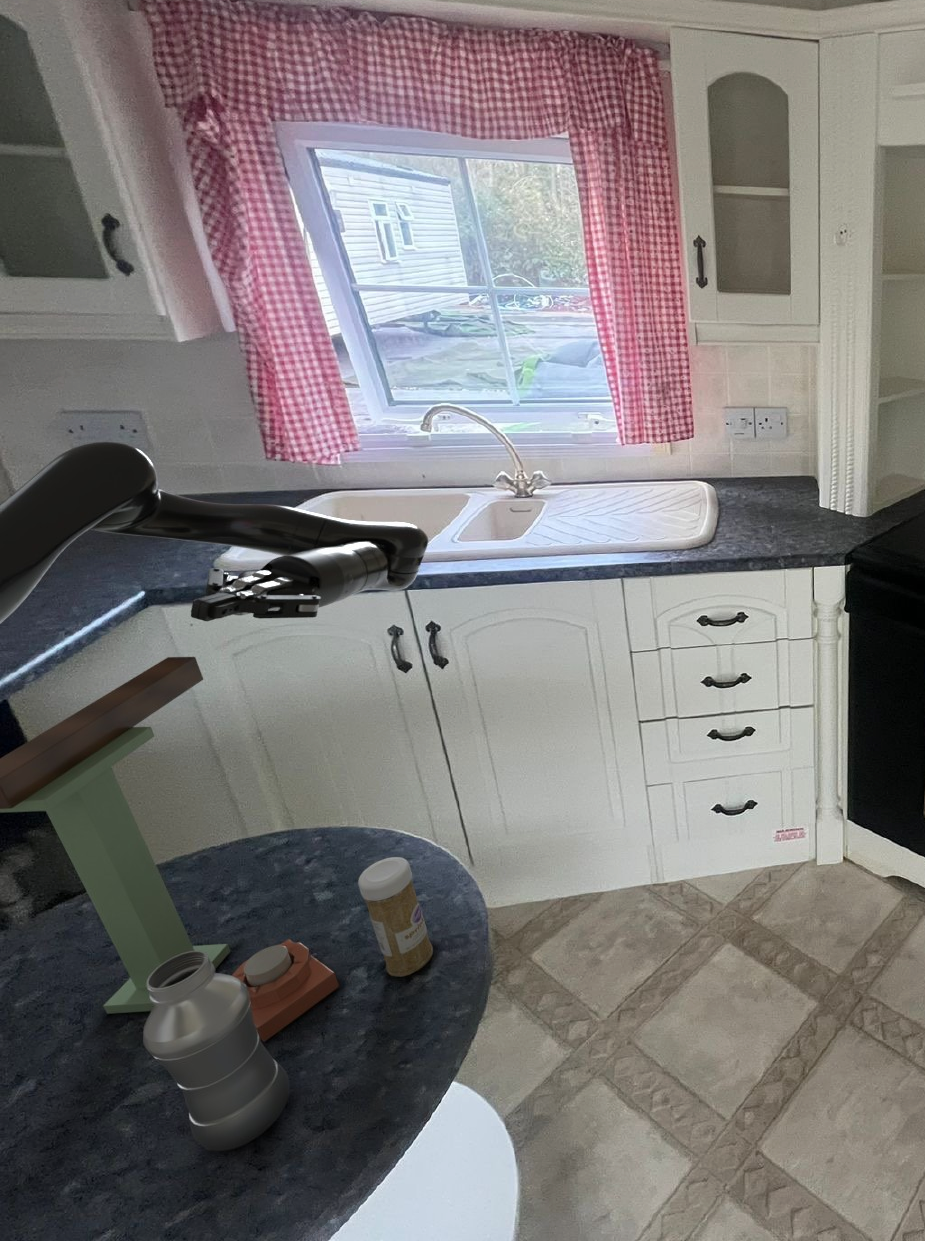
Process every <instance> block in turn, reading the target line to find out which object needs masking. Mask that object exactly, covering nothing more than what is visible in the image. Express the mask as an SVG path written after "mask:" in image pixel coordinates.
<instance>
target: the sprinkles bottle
mask: <svg viewBox="0 0 925 1241" xmlns="http://www.w3.org/2000/svg"><path fill="white" fill-rule="evenodd" d="M412 878H413V873H412V869H411V866H410V862H409V861H408V860H407V859H406V858H404V857H400V856H391V857H386V858H383V859H381V860H377V861H376V862H374V863H372V864H371V865H369V866H368V867H367V868H365V869H364V870H363V872H362V873H361V874H360V876H359V877H358V879H357V880H358V881H357V884H358V889H359V892H360V895H361V897H362V898H363V900H364V901H365V904H366V907H367V910H368V913H369V919H370V922H371V925H372V928H373V930H374V934H375V937H376V939H377V940H376V941H377V943H378V946H379V949H380V952H381V953H382V955H383V958H384V962H385V966H386V967H385V968H386V972H387V973H388V975H390V976H392V977H398V978H399V977H401V978H402V977H406V976H410V975H411V974H414V973H415V972H418V971H420V970H421V969H422V968H424V966H425V965H426V964H427V963H428V962H429V961H430V960H431V958H432V957H433V954H434V948H433V945H432V943H431V941H430V937H429V935H428V931H427V930H428V929H427V925H426V921H425V918H424V915H423V911H422V909H421V906H420V903H419V899H418V896H417V893H416V890H415V887H414V884H413V880H412Z"/></svg>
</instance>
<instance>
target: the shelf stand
mask: <svg viewBox="0 0 925 1241" xmlns="http://www.w3.org/2000/svg"><path fill="white" fill-rule="evenodd" d="M155 736H156V735H155V733H154V730H153V729H152V727H151V726H134V727H132V728H131V729H129V730H128V731H126V732H125V733H123V734H122V735H120V736H119V737H117V738H116V739H114V740H113V741H111V742H110V743H108V744H107V745H105V746H104V747H102V748H101V749H99V750H98V751H96V752H95V753H94V754H92V755H91V756H89V757H88V758H86V759H85V760H83V761H82V762H80V763H79V764H77V765H76V766H74V767H73V768H71V769H70V770H68V771H67V772H65V773H64V774H62V775H61V776H59V777H58V778H56V779H55V780H53V781H52V782H50V783H49V784H47V785H46V786H45V787H43V788H42V789H40V790H39V791H37V792H36V793H34V794H33V795H31V796H30V797H28V798H27V799H25V800H24V801H22V802H21V803H19V804H18V805H16V806H15V807H13V808H11V809H0V813H22V812H23V813H24V812H46V814H47V816H48V818H49V820H50V822H51V824H52V826H53V829H54V830H55V833H56V834H57V836H58V838H59V840H60V842H61V844H62V846H63V847H64V849H65V852H66V853H67V855H68V857H69V859H70V861H71V863H72V865H73V868H74V869H75V872H76V873H77V875H78V878H79V879H80V881H81V883H82V885H83V887H84V889H85V891H86V893H87V895H88V897H89V899H90V901H91V903H92V904H93V906H94V909H95V911H96V912H97V915H98V916H99V918H100V920H101V922H102V925H103V926H104V928H105V930H106V932H107V935H108V936H109V938H110V940H111V942H112V945H113V946H114V948H115V950H116V952H117V954H118V957H119V958H120V960H121V962H122V964H123V966H124V967H125V970H126V971H127V974H128V976H129V979H128V980H127V981H126V982H125V983H124V984H123V985H122V986H121V987H120V988H119V989H118V990H117V991H116V992H115V993H114V994H113V995H112V996H111V997H110V998H109V999H108V1000H107V1001H106V1002H105V1003H104V1004H103V1005H102V1007H103V1009H104V1011H105V1012H106V1014H108V1015H110V1014H124V1013H125V1014H126V1013H127V1014H128V1013H141V1012H151V1011H152V1009H153V1008H154V1006H155V1005H153V1004H152V1002H151V1000H150V993H149V991H148V989H147V979H148V977H149V976H150V974H151V973H152V972H153V971H154V970H155V969H156V968H157V967H159V966H160V965H161V964H163V963H164V962H166V961H167V960H169V959H171V958H173V957H175V956H177V955H180V954H182V953H185V952H189V951H196V950H198V951H204V952H205V953H206V954H207V955H208V957H209V960H210V962H211V963H213V965H214V967H215V970H216V969H217V968H218V967H219V965H221V963H222V962H223V961H224V959H225V958H226V957H227V956H228V955H229V954H230V953H231V949H230V946H229V944H228V943H223V944H222V943H220V944H219V943H218V944H203V945H193V944H192V942H191V939H190V937H189V935H188V933H187V930H186V929H185V926H184V924H183V922H182V919H181V917H180V915H179V913H178V911H177V909H176V906H175V904H174V902H173V900H172V898H171V895H170V893H169V891H168V889H167V887H166V884H165V883H164V880H163V877H162V876H161V873H160V871H159V869H158V867H157V865H156V862H155V861H154V858H153V856H152V853H151V852H150V849H149V847H148V845H147V842H146V841H145V838H144V835H143V834H142V832H141V829H140V827H139V826H138V822H137V821H136V818H135V816H134V813H133V812H132V809H131V807H130V805H129V803H128V801H127V798H126V796H125V794H124V792H123V790H122V788H121V785H120V783H119V781H118V779H117V776H116V774H115V772H114V770H113V767H114V766H115V765H116V764H118V763H119V762H121V761H122V760H123V759H124V758H126V757H127V756H129V755H130V754H133V752H134V751H135V750H137V749H139V748H140V747H141V746H143V745H145V744H146V743H147V742H149V741H150V740H152V739H153V738H154V737H155Z"/></svg>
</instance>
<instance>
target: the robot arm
mask: <svg viewBox="0 0 925 1241" xmlns="http://www.w3.org/2000/svg"><path fill="white" fill-rule="evenodd" d="M158 477H159V476H158V473H157V470H156V468H155V465H154V463H153V462H152V460H151V459H150V457H148V455H146V453H144V452H143V451H142V450H141V449H138V448H137V447H135V446H132V445H129V444H125V443H122V442H114V441H99V442H98V441H97V442H90V443H84V444H81V445H78V446H75V447H73V448H71V449H69V450H67V451H64V452H62V453H61V454H59V455H57V457H55V458H54V459H52V461H50V462H49V463H48V464H47V465H45V466H44V467H43V468H42V469H40V470H39V471H38V472H37V473H36V474H35V475H33V477H32V478H30V479H29V480H28V481H27V482H25V484H23V485H22V486H21V487H20V488H18V489H17V490H16V491H15V492H13V493H12V494H11V495H10V496H9V497H8V498H6V499H5V500H3V501H2V502H1V503H0V625H1V624H2V623H3V622H4V621H5V620H6V619H7V618H9V617H10V616H11V615H12V614H14V612H15V611H16V610H17V609H18V608H19V607H20V606H21V604H22V603H24V601H25V600H26V599H27V598H28V596H29V595H30V594H31V593H32V592H33V590H34V589H35V588H36V586H37V585H38V584H39V583H40V581H41V580H42V578H43V577H44V576H45V574H46V573H47V572H48V571H49V569H50V568H51V566H52V565H53V563H55V561H56V560H57V558H58V557H59V556H60V555H61V554H62V553H63V552H64V550H65V549H66V548H67V547H68V546H70V544H72V543H73V542H74V541H75V540H76V539H77V538H79V537H80V536H82V535H83V534H84V533H86V532H87V531H89V530H90V531H95V532H102V533H108V534H116V535H117V534H118V535H127V536H139V537H149V538H160V539H168V540H169V539H171V540H178V541H179V540H180V541H186V542H187V541H188V542H195V543H196V542H197V543H204V544H205V543H206V544H213V545H214V544H215V545H220V546H229V547H235V548H240V549H241V548H242V549H246V550H247V549H248V550H253V551H259V552H264V553H268V554H273V555H278V556H279V557H275V558H273V559H271V560H270V561H268V562H267V563H266V564H265V565H264V566H262V568H260V569H259V570H254V571H243V572H241V573H239V575H231V574H230V575H229V573H228V572H224V569H223V568H219V567H211V568H209V571H208V576H207V580H206V585H205V592H204V593H205V594H204V596H202V597H198V598H194V599H193V600H192V604H191V610H190V617H191V618H193V619H196V620H199V621H203V622H210V621H214V620H219V619H223V618H226V617H229V616H233V615H234V616H245V615H250V614H252V617H253V618H254V619H260V620H261V619H302V618H303V619H307V618H308V619H309V618H310V619H311V618H316V617H318V616H317V615H318V612H319V608H323V607H325V606H329V605H332V604H334V603H338V602H340V601H342V600H345V599H347V598H349V597H351V596H353V595H355V594H358V593H361V592H365V591H368V590H371V591H372V590H382V591H393V592H394V591H396V592H397V591H402V590H405V589H407V588H409V587H410V586H411V585H412V584H413V583H414V582H415V580H416V578H417V576H418V573H419V570H420V568H421V565H422V562H423V560H424V557H425V554H426V551H427V548H428V545H429V537H428V534H427V533H426V532H425V531H424V530H423V529H422V528H420V527H419V526H418V525H415V524H412V523H409V522H404V521H394V520H393V521H391V520H390V521H389V520H387V521H385V520H384V521H383V520H381V521H380V520H379V521H378V520H359V519H358V520H357V519H347V518H339V517H335V516H329V515H325V514H322V513H317V512H314V511H309V510H305V509H302V508H296V507H292V506H286V505H279V504H278V505H277V504H266V503H265V504H263V503H260V504H258V503H257V504H256V503H253V504H252V503H251V504H250V503H247V504H246V503H243V504H241V503H240V504H239V503H238V504H237V503H236V504H234V503H219V502H209V501H202V500H197V499H193V498H188V497H185V496H181V495H178V494H175V493H172V492H169V491H166V490H163V489H161V488H160V487H159V478H158Z"/></svg>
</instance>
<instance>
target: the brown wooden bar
mask: <svg viewBox="0 0 925 1241" xmlns="http://www.w3.org/2000/svg"><path fill="white" fill-rule="evenodd" d="M200 668H201V667H200V666H199V663H198V660H197V657H196V656H167V657H165V658H164V659H163V660H160V661H159V662H157V663H156V664H154V665H153V666H151V667H149V668H148V669H146V670H145V671H143V672H141V673H139V674H137V675H136V676H134V677H133V678H131V679H129V680H128V681H125V683H123V684H121V685H119V686H118V687H116V688H114V689H113V690H111V691H110V692H108V693H106V694H104V695H103V696H101V697H99V698H98V699H96V700H94V701H93V702H91V703H89V704H88V705H87V706H84V707H83V708H81V709H80V710H78V711H77V712H74V713H73V714H71V715H70V716H68V717H66V718H65V719H64V720H61V721H60V722H58V723H57V724H55V725H54V726H52V727H50V728H49V729H47V730H45V731H44V732H42V733H40V734H37V736H35V737H33V738H32V739H30V740H28V741H27V742H25V743H24V744H22V745H20V746H19V747H17V748H15V749H13V750H11V751H10V752H9V753H6V755H4V756H2V757H1V758H0V809H11V808H13V807H15V806H16V805H18V804H19V803H21V802H22V801H24V800H25V799H27V798H28V797H30V796H31V795H33V794H34V793H36V792H37V791H39V790H40V789H42V788H43V787H45V786H46V785H47V784H49V783H50V782H52V781H53V780H55V779H56V778H58V777H59V776H61V775H62V774H64V773H65V772H67V771H68V770H70V769H71V768H73V767H74V766H76V765H77V764H79V763H80V762H82V761H83V760H85V759H86V758H88V757H89V756H91V755H92V754H94V753H95V752H96V751H98V750H99V749H101V748H102V747H104V746H105V745H107V744H108V743H110V742H111V741H113V740H114V739H116V738H117V737H119V736H120V735H122V734H123V733H125V732H126V731H128V730H129V729H131V728H132V727H136V726H137V725H138V724H140V723H141V722H143V721H144V720H145V719H147V718H149V717H150V716H152V715H153V714H154V713H156V712H158V711H159V710H160V709H162V708H163V707H165V706H167V705H168V704H169V703H171V702H173V701H174V700H175V699H177V698H178V697H180V696H182V695H183V694H184V693H186V692H187V691H188V690H190V689H191V688H193V687H194V686H196V685H198V684H199V683H200V682H202V681H203V680H204V677H203V673H202V671H201V669H200Z"/></svg>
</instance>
